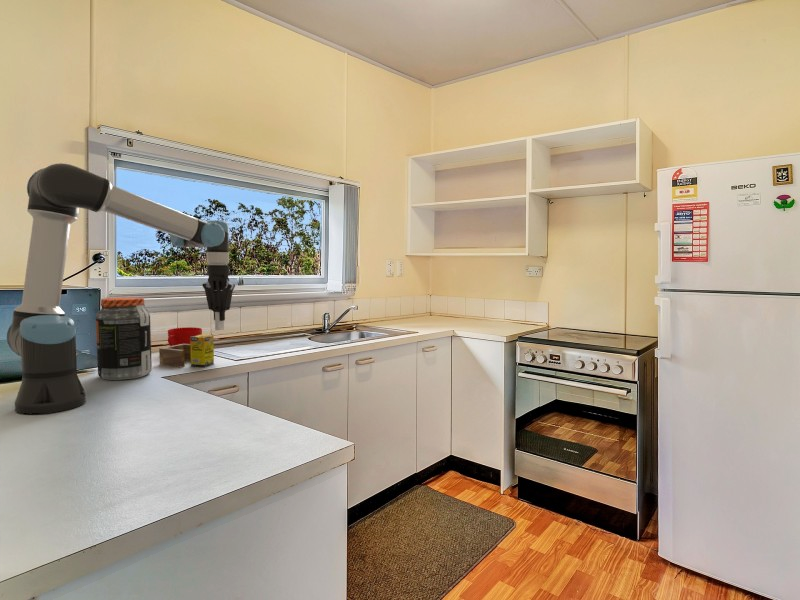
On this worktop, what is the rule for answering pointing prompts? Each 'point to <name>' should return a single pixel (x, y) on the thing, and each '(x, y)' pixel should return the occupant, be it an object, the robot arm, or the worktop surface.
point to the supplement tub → (123, 339)
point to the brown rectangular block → (175, 355)
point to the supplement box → (202, 350)
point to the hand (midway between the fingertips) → (219, 329)
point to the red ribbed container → (182, 335)
